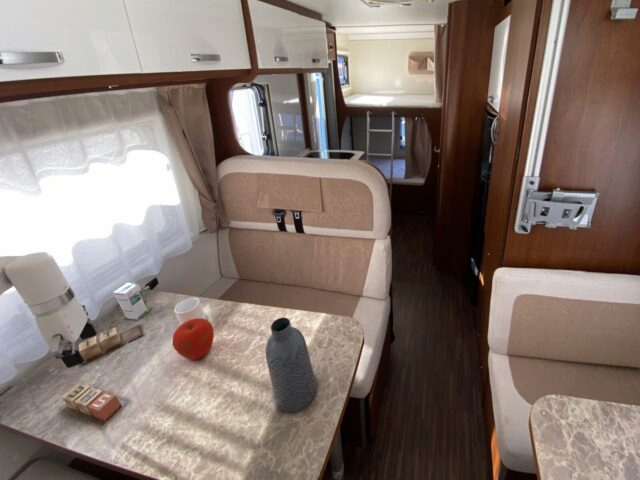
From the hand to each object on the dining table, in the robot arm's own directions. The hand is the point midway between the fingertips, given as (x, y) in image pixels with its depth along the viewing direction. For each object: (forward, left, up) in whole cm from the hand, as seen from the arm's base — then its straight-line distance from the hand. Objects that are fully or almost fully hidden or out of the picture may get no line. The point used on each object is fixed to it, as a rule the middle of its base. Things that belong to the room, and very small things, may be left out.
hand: (83, 350), depth 80 cm
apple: (+23, +4, -26) cm, 35 cm away
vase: (+40, -34, -26) cm, 58 cm away
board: (+1, +32, -25) cm, 41 cm away
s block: (-2, +1, -24) cm, 24 cm away
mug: (+25, +22, -26) cm, 42 cm away
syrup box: (+10, +44, -26) cm, 52 cm away
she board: (-5, +6, -25) cm, 27 cm away
